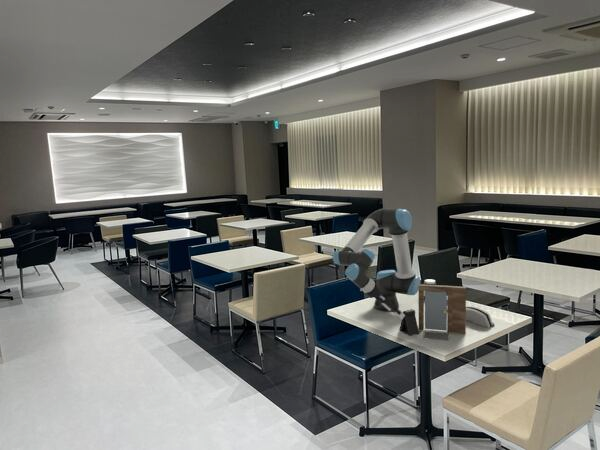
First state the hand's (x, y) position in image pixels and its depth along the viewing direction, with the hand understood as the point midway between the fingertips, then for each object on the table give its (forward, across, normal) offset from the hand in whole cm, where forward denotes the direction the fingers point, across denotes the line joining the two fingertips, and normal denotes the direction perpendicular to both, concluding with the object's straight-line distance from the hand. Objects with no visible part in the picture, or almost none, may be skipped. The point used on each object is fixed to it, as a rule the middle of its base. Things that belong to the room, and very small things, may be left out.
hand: (397, 313), depth 232 cm
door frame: (+25, +4, +9) cm, 27 cm away
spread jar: (+43, -49, +27) cm, 71 cm away
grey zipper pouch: (+43, 0, +26) cm, 50 cm away
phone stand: (+13, -1, -3) cm, 14 cm away
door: (+22, +3, +7) cm, 24 cm away
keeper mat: (+21, +9, +4) cm, 23 cm away
